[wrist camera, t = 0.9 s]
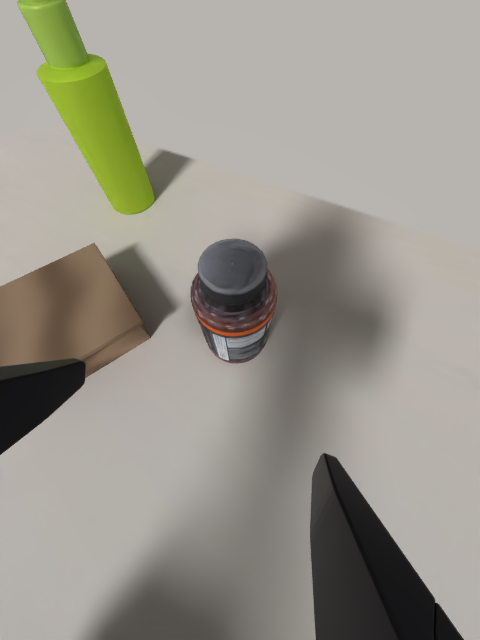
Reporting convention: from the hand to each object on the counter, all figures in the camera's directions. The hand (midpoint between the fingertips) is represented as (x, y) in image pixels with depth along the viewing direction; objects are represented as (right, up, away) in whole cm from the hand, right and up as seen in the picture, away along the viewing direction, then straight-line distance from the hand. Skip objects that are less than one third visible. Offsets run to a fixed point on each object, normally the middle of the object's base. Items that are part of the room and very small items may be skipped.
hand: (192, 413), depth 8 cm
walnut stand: (-14, +2, +16) cm, 21 cm away
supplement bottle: (+1, +2, +15) cm, 15 cm away
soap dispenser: (-13, +20, +24) cm, 34 cm away
